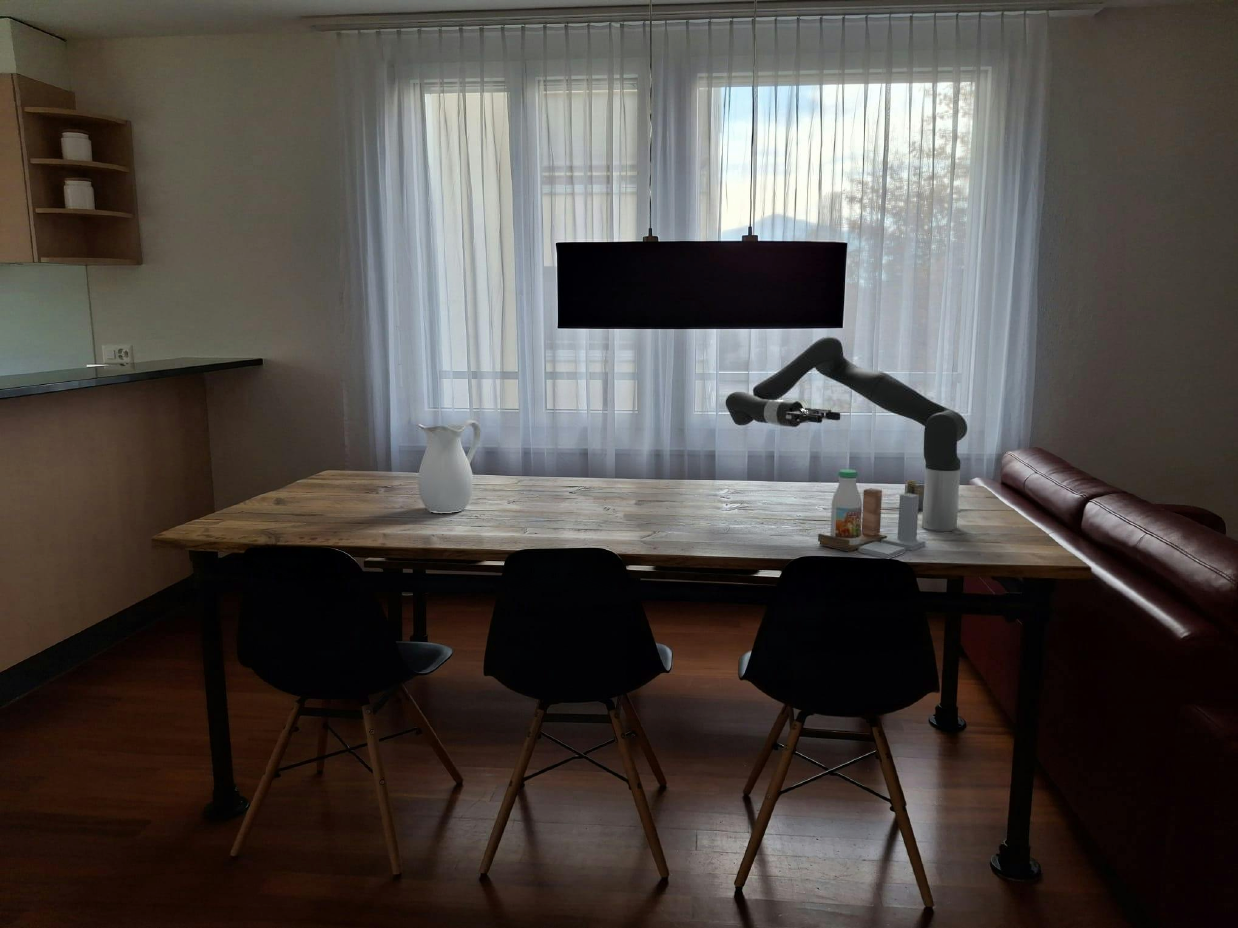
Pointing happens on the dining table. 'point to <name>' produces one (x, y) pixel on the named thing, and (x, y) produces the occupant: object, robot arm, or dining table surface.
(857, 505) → the milk bottle
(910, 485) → the ruin model on sheet
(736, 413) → the robot arm
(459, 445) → the pitcher
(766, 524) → the dining table surface
